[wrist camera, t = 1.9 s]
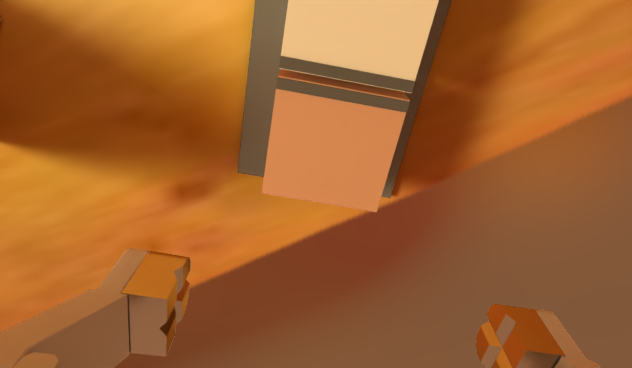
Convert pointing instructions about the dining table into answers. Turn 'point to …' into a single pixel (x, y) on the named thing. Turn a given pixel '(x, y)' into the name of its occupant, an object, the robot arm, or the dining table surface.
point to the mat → (264, 79)
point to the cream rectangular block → (358, 40)
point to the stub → (332, 140)
